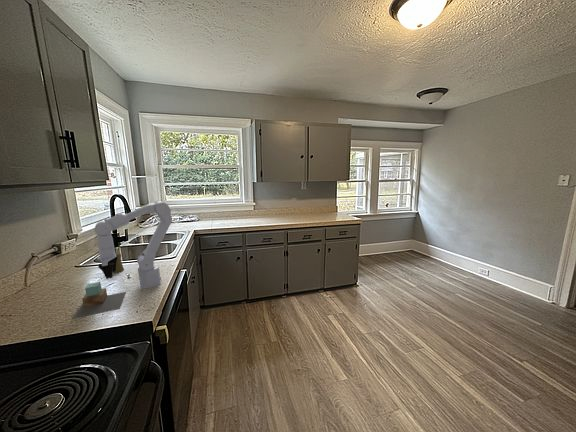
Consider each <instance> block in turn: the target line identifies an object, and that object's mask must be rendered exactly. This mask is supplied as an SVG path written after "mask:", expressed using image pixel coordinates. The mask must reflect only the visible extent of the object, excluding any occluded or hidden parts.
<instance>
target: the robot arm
mask: <svg viewBox="0 0 576 432" xmlns="http://www.w3.org/2000/svg"><path fill="white" fill-rule="evenodd" d="M171 212H172V209H171V208H170V206H169V205H168V203H166V202H164V201H161V200H156V201H154V202H150V203H148V204H145V205H143V206H141V207H139V208H137V209H135V210H134V209H133V210H132V211H130V212H128V213H123V212H122V213H118V212H117V213H116V214H115V215H114V216H111V217H109V218H104V220H102V221H99V222H97V223H96V224H95V226H94V232H95V234H96V238H97V239H96V241H97V246H98V253H99V256H98V257H97V258H96V260H100V263H99V264H98V269H99V270H101V272H102V274H104V278H105V279H112V278H113V274H114V273H113V272H115V271H116V263H117V259H118V256H116V254H115V253H116V250H115V244H114V238H113V236H112V231H115V230H118V229H121V228H122V227H125V226H127V225H129V224H130V221H132V220H134V219H136V218H139V217H141V216H143V215H146V214H150V215H151V214H152V215H155V214H156V215H157V217H158V219H159V223H158V225H157V226H156V229H155V231H154V232H153V235H152V236H151V238H150V239H149V242H148V244H147V245H146V247H145V249H144V250H143V251H142V253H141V254H140V255H139V256H137V258H136V259H137V260H136V262H137V264H138V268H137V272H138V273H137V274H138V280H139V286H138V290H142V289H147V288H152V287H159V286H161V281H162V276H161V272H160V267H159V266H155V263H154V262H155V259H156V255H157V254H156V253H157V252H158V249H159V247H160V246H161V243H162V242H163V240H164V237H166V234H167V232H168V230H169V228H170V226H171V224H172V221H173V220H172V218H173V217H172V213H171Z"/></svg>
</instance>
